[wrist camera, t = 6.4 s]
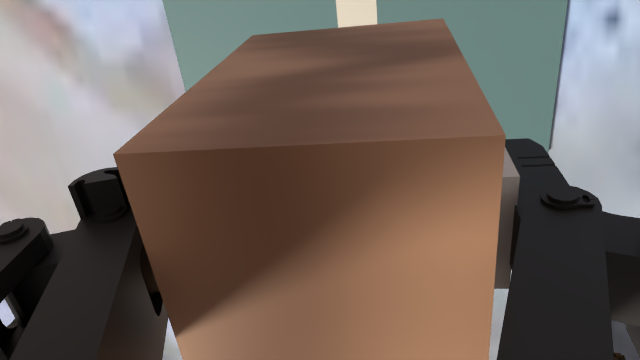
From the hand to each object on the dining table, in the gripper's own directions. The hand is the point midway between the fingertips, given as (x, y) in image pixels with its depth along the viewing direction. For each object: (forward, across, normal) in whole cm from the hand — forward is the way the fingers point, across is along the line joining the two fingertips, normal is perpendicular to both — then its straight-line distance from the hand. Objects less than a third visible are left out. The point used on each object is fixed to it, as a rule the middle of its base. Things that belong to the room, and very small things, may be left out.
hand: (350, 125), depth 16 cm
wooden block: (+1, 0, 0) cm, 1 cm away
